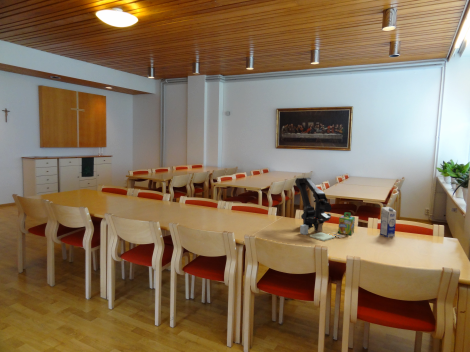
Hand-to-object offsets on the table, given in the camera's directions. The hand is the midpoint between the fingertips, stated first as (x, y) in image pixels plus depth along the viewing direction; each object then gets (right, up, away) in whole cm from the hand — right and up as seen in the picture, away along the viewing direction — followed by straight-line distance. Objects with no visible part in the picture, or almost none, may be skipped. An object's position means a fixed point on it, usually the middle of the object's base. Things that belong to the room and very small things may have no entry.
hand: (318, 229), depth 242 cm
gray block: (-12, -2, -6) cm, 13 cm away
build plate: (-1, -3, -14) cm, 14 cm away
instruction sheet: (+11, -2, -9) cm, 14 cm away
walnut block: (0, -1, 0) cm, 1 cm away
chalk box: (+20, -2, -3) cm, 20 cm away
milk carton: (+47, -3, -9) cm, 47 cm away
